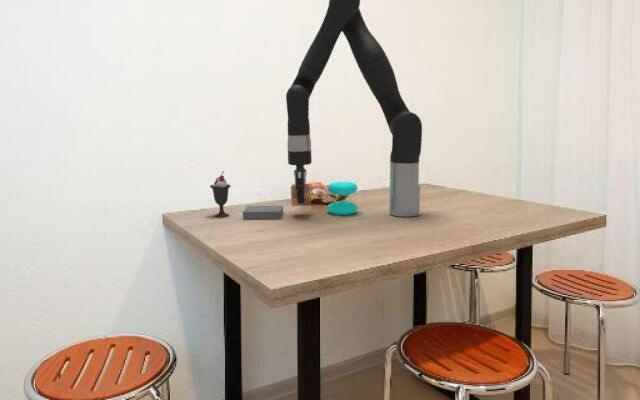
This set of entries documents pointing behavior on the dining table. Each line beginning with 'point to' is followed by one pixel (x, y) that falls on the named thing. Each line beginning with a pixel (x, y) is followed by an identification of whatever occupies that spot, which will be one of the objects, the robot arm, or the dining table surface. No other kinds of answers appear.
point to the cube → (306, 195)
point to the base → (262, 212)
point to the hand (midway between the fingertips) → (301, 200)
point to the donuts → (342, 206)
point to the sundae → (220, 194)
